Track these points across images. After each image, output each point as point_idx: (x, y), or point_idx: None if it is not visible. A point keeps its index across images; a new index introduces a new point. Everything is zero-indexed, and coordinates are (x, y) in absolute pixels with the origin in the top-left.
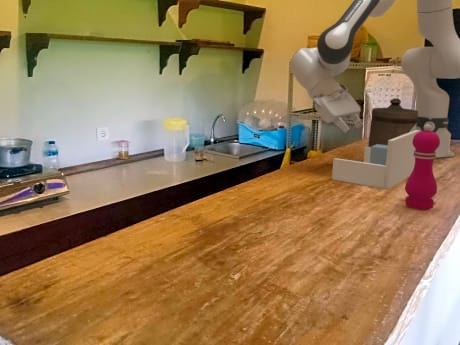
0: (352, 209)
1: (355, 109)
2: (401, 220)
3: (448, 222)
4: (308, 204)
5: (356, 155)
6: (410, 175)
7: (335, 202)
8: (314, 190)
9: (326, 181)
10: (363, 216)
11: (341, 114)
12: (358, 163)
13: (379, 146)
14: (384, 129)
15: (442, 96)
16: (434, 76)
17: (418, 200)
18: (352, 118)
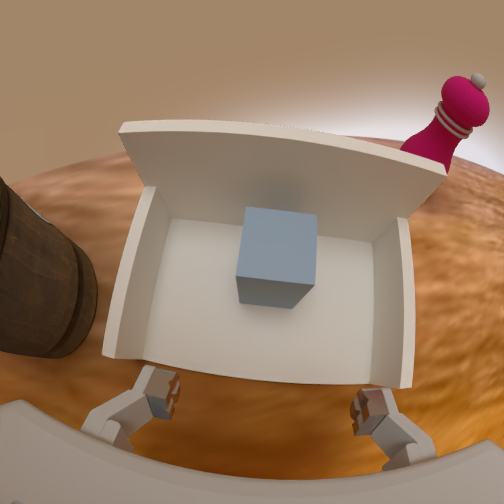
0: (484, 267)
1: (75, 450)
2: (471, 199)
3: None
4: (500, 334)
5: (16, 388)
6: (446, 164)
7: (478, 304)
8: (446, 376)
9: None
10: (491, 244)
11: (420, 464)
12: (413, 299)
13: (290, 254)
14: (18, 281)
15: None
16: None
17: None
18: (128, 448)
